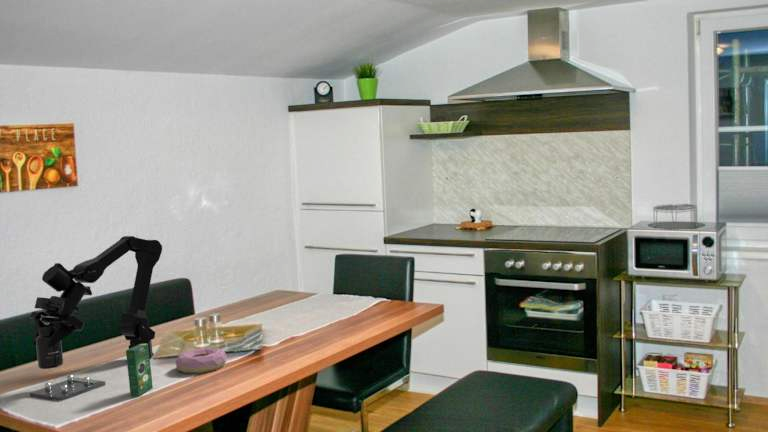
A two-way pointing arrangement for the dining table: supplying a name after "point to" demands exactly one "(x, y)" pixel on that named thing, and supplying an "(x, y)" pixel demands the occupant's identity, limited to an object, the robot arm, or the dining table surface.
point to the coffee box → (139, 369)
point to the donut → (201, 360)
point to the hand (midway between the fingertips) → (41, 346)
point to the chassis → (67, 388)
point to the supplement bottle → (44, 353)
